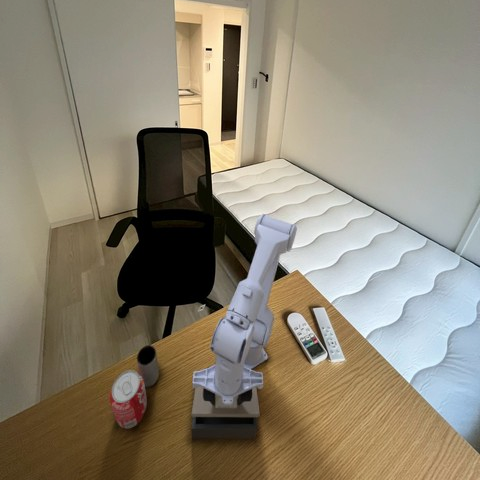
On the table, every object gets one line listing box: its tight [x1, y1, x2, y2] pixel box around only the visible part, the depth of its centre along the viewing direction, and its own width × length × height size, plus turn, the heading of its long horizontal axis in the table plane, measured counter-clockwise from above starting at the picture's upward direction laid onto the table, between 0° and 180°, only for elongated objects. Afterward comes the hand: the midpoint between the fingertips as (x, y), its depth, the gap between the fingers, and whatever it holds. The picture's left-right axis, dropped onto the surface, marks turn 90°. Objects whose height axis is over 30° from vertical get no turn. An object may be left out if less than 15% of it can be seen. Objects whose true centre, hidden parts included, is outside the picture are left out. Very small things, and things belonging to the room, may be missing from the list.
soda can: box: [109, 369, 148, 430], centre depth 56 cm, size 7×7×12 cm
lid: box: [191, 386, 261, 418], centre depth 57 cm, size 11×15×4 cm
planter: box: [136, 344, 160, 388], centre depth 63 cm, size 4×4×10 cm
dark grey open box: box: [190, 417, 258, 440], centre depth 59 cm, size 10×15×5 cm
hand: (226, 399), depth 54 cm, fingers closed on lid, 5 cm apart
